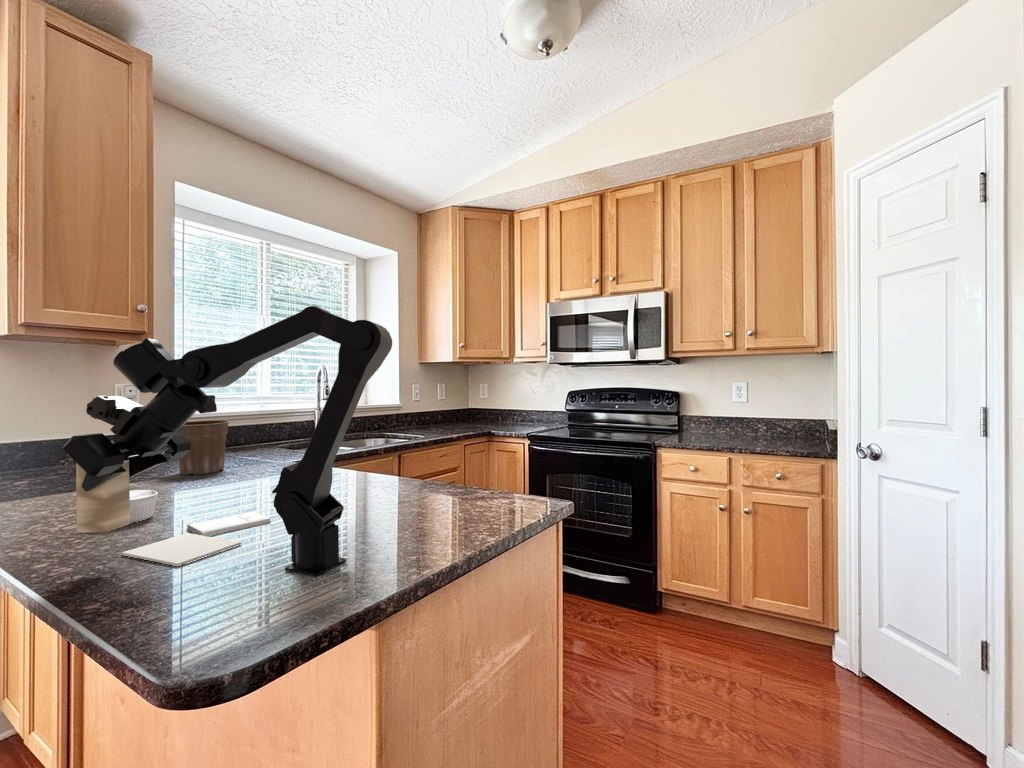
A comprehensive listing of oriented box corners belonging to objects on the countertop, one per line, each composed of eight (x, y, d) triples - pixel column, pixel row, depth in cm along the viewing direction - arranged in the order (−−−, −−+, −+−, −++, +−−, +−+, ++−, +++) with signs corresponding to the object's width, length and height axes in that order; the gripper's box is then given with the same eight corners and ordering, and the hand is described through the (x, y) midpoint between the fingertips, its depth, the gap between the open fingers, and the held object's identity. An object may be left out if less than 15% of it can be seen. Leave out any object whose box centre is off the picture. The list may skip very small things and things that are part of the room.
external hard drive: (187, 532, 96) (253, 518, 106) (202, 540, 91) (270, 525, 101) (186, 524, 96) (253, 510, 106) (202, 531, 91) (270, 517, 101)
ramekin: (157, 521, 103) (157, 496, 103) (87, 531, 96) (86, 504, 96) (158, 510, 112) (158, 487, 112) (94, 518, 106) (94, 494, 106)
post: (130, 523, 79) (128, 442, 79) (106, 532, 75) (104, 446, 75) (102, 523, 79) (101, 443, 79) (77, 532, 75) (75, 446, 75)
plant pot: (185, 478, 148) (184, 425, 148) (161, 473, 157) (160, 423, 157) (240, 470, 162) (239, 421, 162) (215, 466, 171) (214, 419, 171)
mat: (241, 545, 87) (241, 541, 87) (177, 567, 76) (177, 563, 76) (187, 536, 92) (187, 533, 92) (122, 555, 82) (121, 552, 82)
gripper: (172, 378, 86) (112, 442, 86) (75, 377, 67) (-2, 458, 68) (218, 422, 86) (157, 486, 86) (132, 434, 67) (55, 515, 68)
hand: (98, 485), depth 77 cm, fingers closed on post, 4 cm apart
